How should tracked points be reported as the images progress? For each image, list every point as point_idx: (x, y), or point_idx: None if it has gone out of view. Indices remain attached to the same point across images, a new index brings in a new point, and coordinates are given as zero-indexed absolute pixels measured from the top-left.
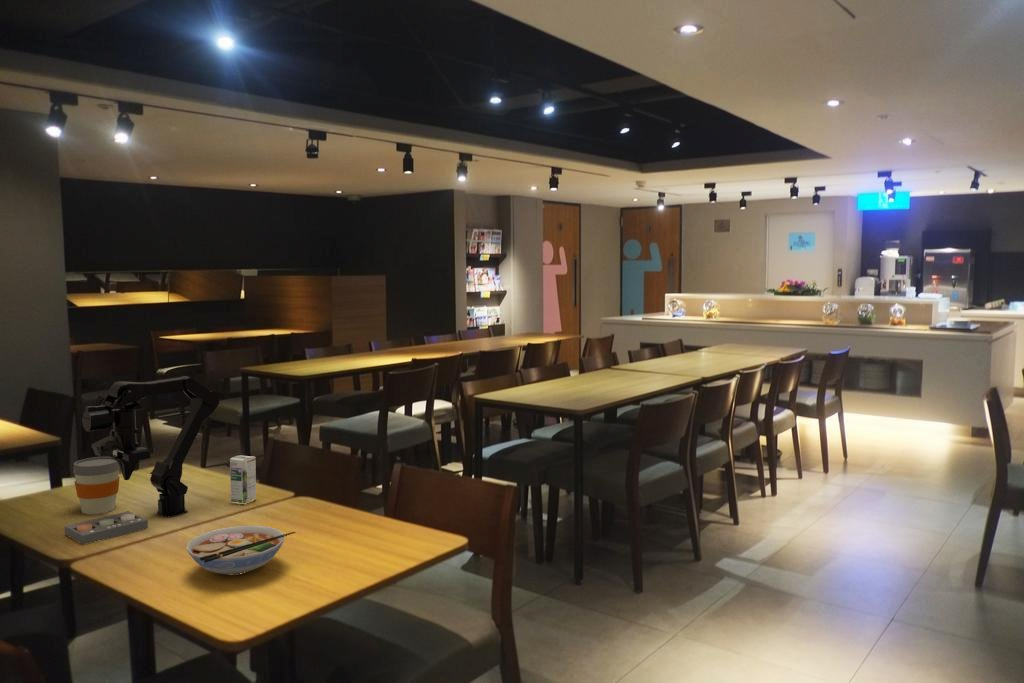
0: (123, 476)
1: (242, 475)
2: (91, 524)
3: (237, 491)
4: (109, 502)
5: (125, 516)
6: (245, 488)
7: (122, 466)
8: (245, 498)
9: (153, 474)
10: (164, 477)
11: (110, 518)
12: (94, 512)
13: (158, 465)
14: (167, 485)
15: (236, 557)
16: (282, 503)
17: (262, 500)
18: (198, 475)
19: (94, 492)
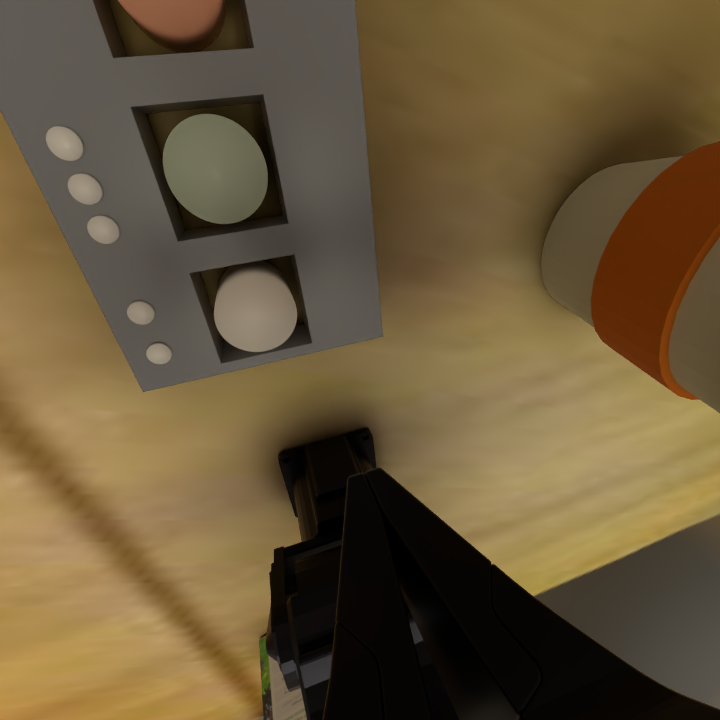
0: (388, 493)
1: None
2: (166, 25)
3: None
4: (571, 289)
5: (247, 302)
6: (263, 711)
7: (404, 675)
8: (261, 666)
9: (411, 617)
10: (297, 666)
11: (306, 222)
12: (567, 207)
13: (445, 711)
14: (272, 614)
15: None
16: (216, 701)
17: None
18: (621, 539)
19: (657, 224)
